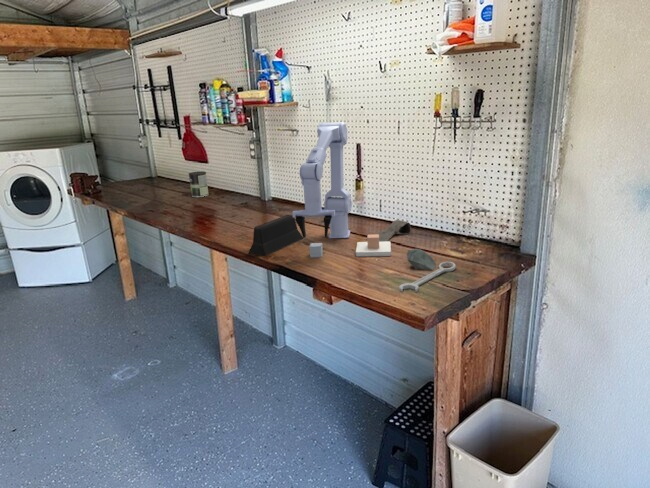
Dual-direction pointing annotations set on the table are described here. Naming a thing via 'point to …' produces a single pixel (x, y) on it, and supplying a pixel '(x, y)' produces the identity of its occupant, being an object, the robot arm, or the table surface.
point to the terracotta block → (373, 241)
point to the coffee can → (198, 184)
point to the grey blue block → (316, 250)
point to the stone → (420, 259)
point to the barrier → (275, 236)
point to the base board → (364, 251)
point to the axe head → (394, 230)
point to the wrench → (428, 277)
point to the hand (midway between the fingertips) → (315, 236)
